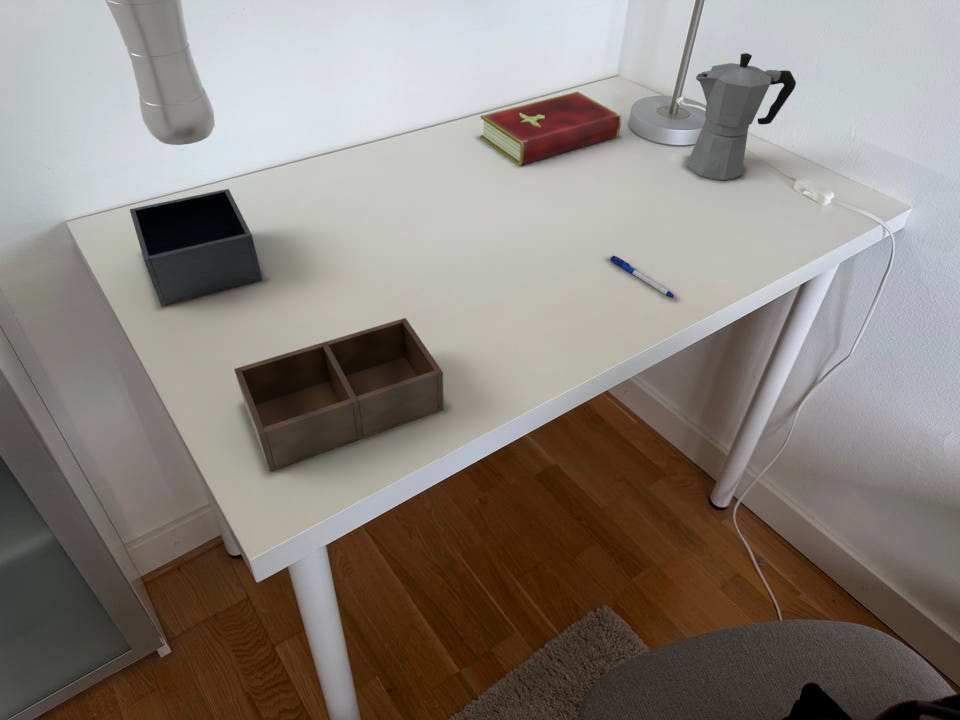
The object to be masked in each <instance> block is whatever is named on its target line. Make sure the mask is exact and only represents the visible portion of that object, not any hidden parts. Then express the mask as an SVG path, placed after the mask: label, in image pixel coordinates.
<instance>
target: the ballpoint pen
mask: <svg viewBox="0 0 960 720" xmlns="http://www.w3.org/2000/svg"><path fill="white" fill-rule="evenodd" d="M609 260H610V261H611V262H612V263H614V264H615V265H617V266H618V267H620V268H621V269H623V270H624V271H626V272H627V273H628V274H630V275H633V276H635V277H636V278H638V279H640V280H641V281H643V282H645V283H646V284H648V285H649V286H651V287H652V288H654V289H656V290H657V291H659V292H661V293H662V294H663V295H665V296H667V297H670V298H673V297H674V296H675V294H674V293H673V292H671V291H670V290H669V289H667V288H665V287H663V286H662V285H661V284H659V283H658V282H656V281H654V280H652V279H651V278H649V277H648V276H646V275H644V274H642V273H641V272H639V271H637V270H636V269H635V268H634V267H632V266H631V264H630V263H628V262H626V261H625V260H624V259H622V258H620V257H618V256H616V255H612V256H611V257H610V258H609Z"/></svg>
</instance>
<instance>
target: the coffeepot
mask: <svg viewBox="0 0 960 720" xmlns="http://www.w3.org/2000/svg"><path fill="white" fill-rule="evenodd" d="M752 57H753V55H752V54H750V53H747V52H746V53H745V52H744V53H740V60H739V63H733V62H728V63H723V64H717V65H712V66H711V69H710V70H707V71H706V70H705V71H701V72H700V73H698V74H697V75H696V76H695V80H696V81H698V82H699V84H700V86H701V89H702V92H703V96H704V98H705V102H706V104H705V113H704V117H705V119H704V123H703V125H702V128H701V130H700V132H699V134H698V136H697V139H696V142H695V144H694V146H693V149H691V153H690V155H689V158H688V161H687V164H686V166H687V167H688V169H689V170H690V171H691V172H693V174H695V175H697V176H700V177H702V178H704V179H709V180H715V181H731V180H735V179H737V178H738V177H741V176H742V174H743V167H744V160H745V154H746V147H747V141H748V134H749V128H750V125H753V122H754V120H755V118H756V116H757V114H758V111H759V109H760V107H761V106H762V103H763V101H764V99H765V96H766V95H767V92H768V91H769V88H770V87H771V86H772V85H774V86H775V85H779V84H783V87H782V88H781V89H780V91H779V92H778V94H777V96H776V99H775V100H774V102H773V103H772V104H771V106H770V107H769V110H768V112H767V114H766V116H765V117H758V118H757V124H758V125H770V124H771V123H772V122H773V121H774V119H775V118H776V116H777V115H778V113H779V111H780V110H781V109H782V108H783V106H784V104H785V103H786V102H787V100H788V98H789V97H790V95H791V94H792V93H793V92H794V90H795V88H796V84H797V81H796V79H795V77H794V76H793V74H792V72H791V71H790V70H787V69H785V70H784V69H783V70H778V69H767V70H763V69H761V68H759V67H758V66H754V65H749V63H750V62H751V59H752Z"/></svg>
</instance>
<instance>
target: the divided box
mask: <svg viewBox="0 0 960 720" xmlns="http://www.w3.org/2000/svg"><path fill="white" fill-rule="evenodd" d="M233 371H234V374H235V378H236V381H237V383H238V387H239V390H240V393H241V397H242V400H243V403H244V407H245V410H246V412H247V415H248V417H249V420H250V423H251V426H252V429H253V431H254V433H255V436H256V439H257V441H258V444H259V447H260V450H261V453H262V455H263V458H264V460H265V463H266V465H267V468H268V471H269V472H272V471H275V470H278V469H280V468H283V467H286V466H289V465H292V464H295V463H298V462H301V461H304V460H306V459H309V458H312V457H314V456H317V455H319V454H322V453H326V452H328V451H331V450H334V449H336V448H339V447H342V446H345V445H349V444H350V443H353V442H356V441H359V440H362V439H365V438H368V437H370V436H372V435H375V434H378V433H382V432H384V431H387V430H389V429H392V428H395V427H397V426H401V425H403V424H406V423H409V422H412V421H414V420H417V419H420V418H424V417H426V416H429V415H432V414H435V413H437V412H439V411H442V410H444V372H443V370H442V369H441V367H440V366H439V364H438V363H437V362H436V359H434V357H433V356H432V355H431V352H430V351H429V350H428V348H427V347H426V346H425V344H424V343H423V341H422V340H421V338H420V337H419V335H418V333H417V332H416V330H415V329H414V327H412V325H411V324H410V322H409V321H408V319H407V317H404V318H400V319H396V320H393V321H390V322H386V323H383V324H380V325H376V326H373V327H370V328H366V329H363V330H360V331H357V332H354V333H350V334H347V335H343V336H340V337H337V338H333V339H330V340H327V341H324V342H319V343H315V344H313V345H309V346H306V347H302V348H300V349H297V350H293V351H289V352H287V353H282V354H279V355H277V356H273V357H269V358H265V359H263V360H259V361H256V362H252V363H249V364H246V365H241V366H240V367H235V368H234V369H233Z"/></svg>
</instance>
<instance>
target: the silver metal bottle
mask: <svg viewBox="0 0 960 720" xmlns="http://www.w3.org/2000/svg"><path fill="white" fill-rule="evenodd" d="M104 1H105V3H106V5H107V6H108V9H109V11H110V13H111V15H112V17H113V19H114V21H115V23H116V26H117V27H118V30H119V32H120V35H121V38H122V40H123V43H124V46H126V51H127V54H128V56H129V59H130V61H131V66H132V70H133V74H134V78H135V82H136V86H137V91H138V94H139V96H138V100H139V107H140V111H141V117H142V121H143V122H144V125H145V126H146V128H147V130H148V131H149V133H150V134H151V136H153V138H155V139H156V140H157V141H158V142H161V143H163V144H164V145H165V144H166V145H170V146H171V145H172V146H183V145H189V144H195V143H198V142H201V141H203V140H205V139H207V138H208V137H210V135H212V132H213V129H214V127H215V112H214V111H215V110H214V108H213V105H212V103H211V100H210V98H209V96H208V93H207V91H206V89H205V87H204V86H203V83H202V80H201V78H200V75H199V72H198V69H197V66H196V63H195V61H194V58H193V54H192V51H191V47H190V43H189V41H188V40H189V39H188V33H187V28H186V24H185V18H184V10H183V2H182V0H104Z"/></svg>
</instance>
